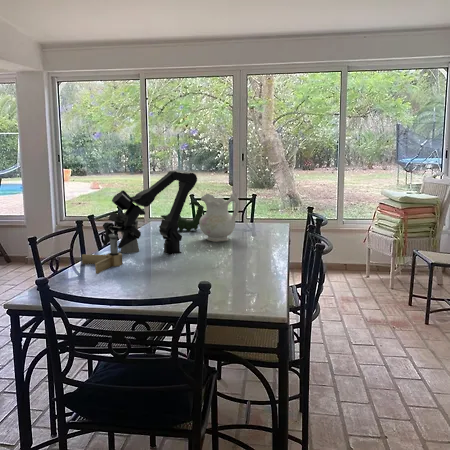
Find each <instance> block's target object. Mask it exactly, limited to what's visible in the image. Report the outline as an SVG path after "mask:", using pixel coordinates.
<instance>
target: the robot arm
mask: <svg viewBox="0 0 450 450" xmlns="http://www.w3.org/2000/svg"><path fill="white" fill-rule="evenodd" d="M175 181H177V182H178V191H177V193H176V196H175V198H174V201H173V204H172V206H171V209H170V211H169V213H168V214H169V216H168V218H167V219H166V220H165V219H164V218H162V219H161V221H160V222H161V223H160V225H159V227H158V228H159V231H158V232H159V234H160V235H161V237H162V239H163V240H164V243H163V253H164V254H167V255H171V256H172V255H177V254H182V251H181V248H180V247H181V246H180V245H181V241H182V240H183V236H182V234H180V232H178V230H179V228H178V219H179V216H181V213H182V211H183V209H184V206H185V203H186V201H187V199H188V198H187V197H188V196H189V193H190V191H192V190H193V189H194V187H195V186H196V184H197V182H198V177H197V175H196V173H194V172H185V171H184V172H179V171H176V170H169V171H168V172H167V173H166V174H165V175H164V176H163V177H161V178H160V179H158V181H156V182H155V183H154V184H152V185H151V186H150V187H149V188H145V189H143V190H141V191H139V192H138V193H136V194H135V195H133V196H130V195H129V194H128V193H127V192H126V191H125V190H121V191H119V192H118V193H117V194H115V195H114V196H113V198H111V199H112V200H111V202H112V203H113V204H114V205H115V206H116V207H118V208H119V209H120V211H124V210H125V211H124V212H119V213H116V212H109V216H108V221H105V222H104V223H103V225H102V228H103V229H104V231H105V232H104V233H105V234H104V238H103V239H104V240H103V243H102V244H103V246H107V245H108V244H110V237H109V234H119V233H121V232H124V236H123V238H122V237H121V239H120V241H119V244H118V249H121V247H123V246H125V245H126V244H128V243H130V242H131V241H133V240H136V238H137V240H139V239H140V237H141V236H142V235H141V234H142V232H141V231H140V230H139V229H138V227H137V228H136V227H135V226H133V225H136V222H135V221H136V219H138V218H139V216H143V215H144V216H145V215H146V211H145V208H147V207H149V206H151V204H152V203H153V202H154V201H155V199H156V197H157V196H158V195H159V194H160V193H161V192H163V191H164V190H165V189H167V187H169V186H170V185H171V184H172V183H175ZM142 207H145V208H142ZM109 221H111V222H109ZM113 222H114V223H113Z"/></svg>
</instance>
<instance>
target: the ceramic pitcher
mask: <svg viewBox="0 0 450 450" xmlns="http://www.w3.org/2000/svg"><path fill="white" fill-rule="evenodd" d="M200 200H201V201H202V202H203V203H205V207H206V212H205V213H203V214H202V217H201V218H200V221H199V225H198V226H199V229H200V231H201V233H202V234H203V235H204V236H207V238H206V240H207V241H208V242H215V243H218V242H228V241H229V238H228V236H230V235H231V234H232V233H233V232H234V231H235V228H236V217H237V216H238V213H239V211H240V200H239V198H238V195H237V194H236V193H232V194H230V197H229V199H228V200H227V199H226V200H225V199H224V198H223V197H215V195H213V194H210V193H206V194H203V195H202V196H201V197H200ZM232 202H234V203H235V208H234V210H233V213H232V214H230V213H229V205H230V203H232Z"/></svg>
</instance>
